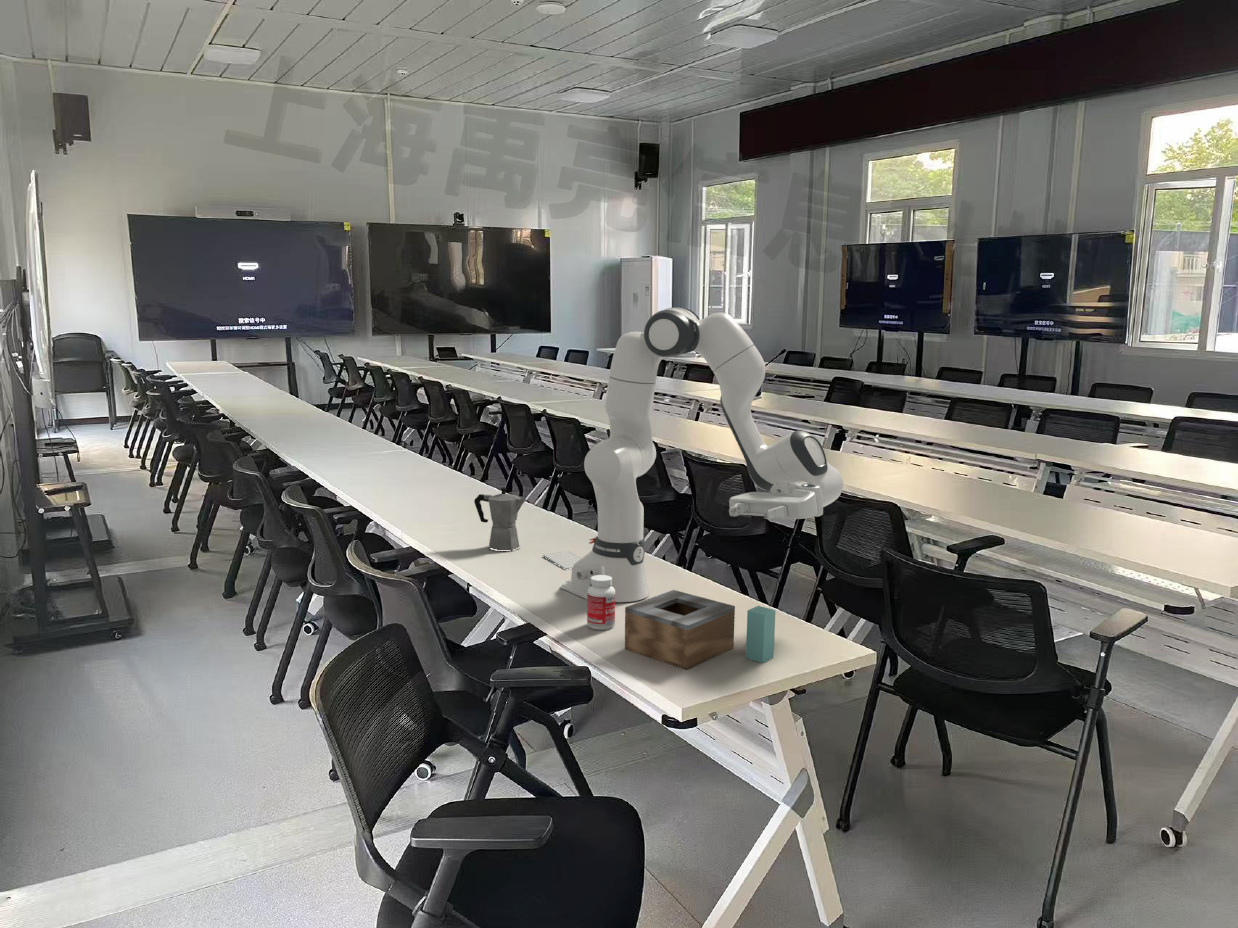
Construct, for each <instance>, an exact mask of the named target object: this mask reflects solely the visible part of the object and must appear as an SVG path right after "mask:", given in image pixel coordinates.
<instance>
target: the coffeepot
mask: <svg viewBox="0 0 1238 928" xmlns="http://www.w3.org/2000/svg"><path fill="white" fill-rule="evenodd" d="M500 490H501V493H498V494H494V495H492V494H482V493H481V494H478V495H477V497H476V498H475V499H474V506H475V508H476V512H477V514H478V517H479V520H480V522H482V523H488V522H489V519H487V518H485V517H484V516H485V513H484V511H483V509H482V503H481V502H487V503H488V505H489V511H490V517H491V521H492V526H491V530H490V537H489V545H488V547H489V546H490V548H493V549H497V550H513V549H516V548H518V547H520V543H519V537H518V535H519V534H518V529H517V525H516V524H517V523H516V522H517V520H518V513H519V511H520V509H521V507H522V506H523V504H524V503H525V502H527V500H526V498H524V497H520V496H519V495H515V494H512V493H511V494H510V493H506V492H507V487H505V486H504V487H500Z"/></svg>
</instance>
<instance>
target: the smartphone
mask: <svg viewBox="0 0 1238 928" xmlns="http://www.w3.org/2000/svg"><path fill="white" fill-rule="evenodd" d="M543 556H544V557H546V558H547V559H549V560H551V561H552V562H553V563H556V564H557V565H560V567H561V569H562V568H565V569H569V568H573V566H574V564H575V563H576V562H577V561H578V560H580V559H581V558H582V557H579V556H577V555H576V554H574V553H572V552H571V551H561V552H553V553H547V554H545V553H544V554H543V555H542V557H543ZM547 559H546V560H547ZM552 562H551V563H552ZM553 563H552V564H553ZM557 565H556V566H557ZM560 567H559V568H560Z"/></svg>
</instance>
